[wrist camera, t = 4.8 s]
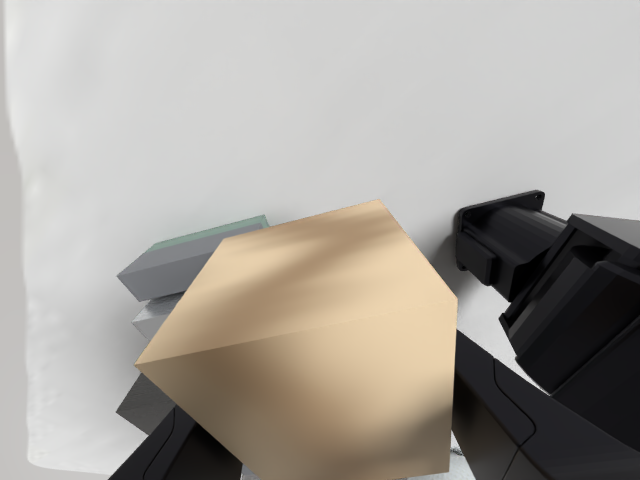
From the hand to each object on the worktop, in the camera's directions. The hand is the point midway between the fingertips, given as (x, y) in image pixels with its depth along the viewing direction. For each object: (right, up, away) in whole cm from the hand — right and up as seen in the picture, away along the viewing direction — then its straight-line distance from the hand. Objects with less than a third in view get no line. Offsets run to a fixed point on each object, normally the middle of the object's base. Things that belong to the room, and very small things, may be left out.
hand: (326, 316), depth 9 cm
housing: (0, +1, +1) cm, 1 cm away
